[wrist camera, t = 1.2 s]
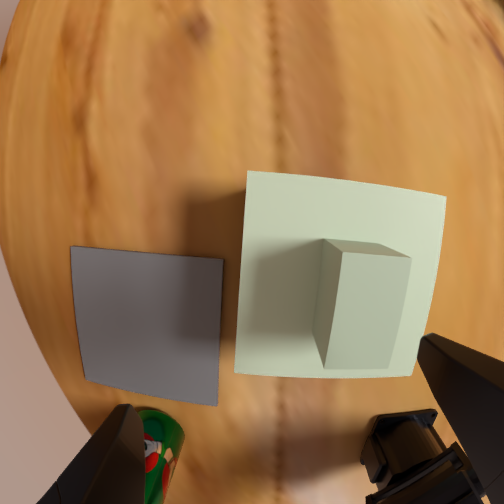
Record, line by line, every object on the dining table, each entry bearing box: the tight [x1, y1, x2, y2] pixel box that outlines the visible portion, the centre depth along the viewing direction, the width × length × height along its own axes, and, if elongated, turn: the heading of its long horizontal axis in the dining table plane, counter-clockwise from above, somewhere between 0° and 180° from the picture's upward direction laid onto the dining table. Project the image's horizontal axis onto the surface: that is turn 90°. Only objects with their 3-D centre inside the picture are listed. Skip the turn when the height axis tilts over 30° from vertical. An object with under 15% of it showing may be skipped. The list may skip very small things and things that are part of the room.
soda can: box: [137, 410, 185, 504], centre depth 18 cm, size 5×5×12 cm
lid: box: [234, 171, 446, 378], centre depth 14 cm, size 11×11×5 cm
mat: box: [71, 246, 224, 406], centre depth 22 cm, size 12×12×1 cm
